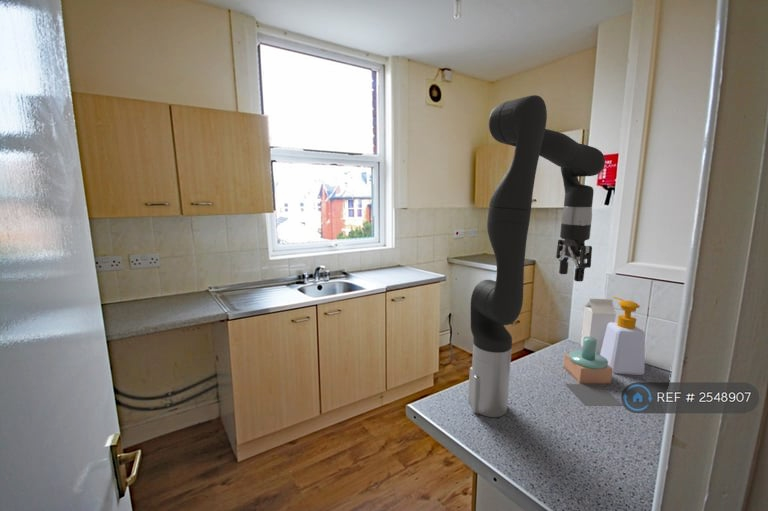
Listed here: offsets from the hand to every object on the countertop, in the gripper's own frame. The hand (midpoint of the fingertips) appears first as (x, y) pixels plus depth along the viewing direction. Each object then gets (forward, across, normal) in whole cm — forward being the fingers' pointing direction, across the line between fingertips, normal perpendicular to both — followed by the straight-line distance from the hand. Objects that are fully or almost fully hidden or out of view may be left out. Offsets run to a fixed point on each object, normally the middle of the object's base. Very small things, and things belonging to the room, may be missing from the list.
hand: (570, 277), depth 100 cm
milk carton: (+30, -14, +19) cm, 38 cm away
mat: (+30, +13, +2) cm, 33 cm away
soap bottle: (+30, -4, +20) cm, 37 cm away
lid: (+25, +3, +6) cm, 26 cm away
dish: (+30, +3, +6) cm, 31 cm away
